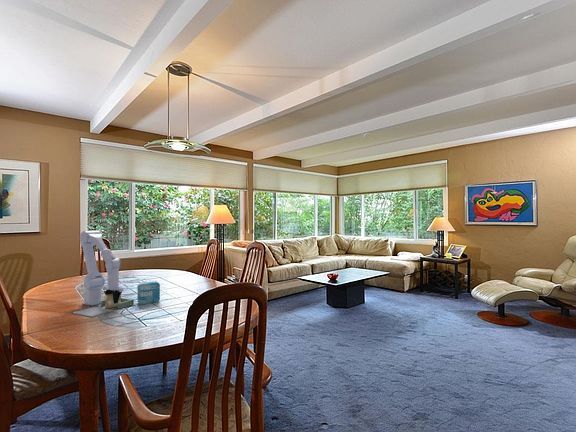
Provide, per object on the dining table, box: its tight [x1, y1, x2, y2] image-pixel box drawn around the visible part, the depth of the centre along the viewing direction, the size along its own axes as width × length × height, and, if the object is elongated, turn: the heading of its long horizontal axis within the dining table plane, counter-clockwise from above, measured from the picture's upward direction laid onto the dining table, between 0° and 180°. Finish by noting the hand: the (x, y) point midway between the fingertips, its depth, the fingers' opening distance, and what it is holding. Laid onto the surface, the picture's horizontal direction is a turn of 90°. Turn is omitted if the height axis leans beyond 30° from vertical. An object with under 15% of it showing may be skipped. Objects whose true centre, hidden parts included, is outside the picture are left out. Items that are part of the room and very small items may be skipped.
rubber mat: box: [72, 306, 114, 318], centre depth 172 cm, size 16×12×1 cm
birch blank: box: [104, 294, 122, 309], centre depth 183 cm, size 4×7×7 cm, turn 157°
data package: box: [136, 281, 161, 305], centre depth 192 cm, size 12×4×12 cm, turn 124°
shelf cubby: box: [100, 297, 135, 310], centre depth 185 cm, size 15×10×3 cm, turn 66°
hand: (113, 302), depth 183 cm, fingers closed on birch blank, 4 cm apart
